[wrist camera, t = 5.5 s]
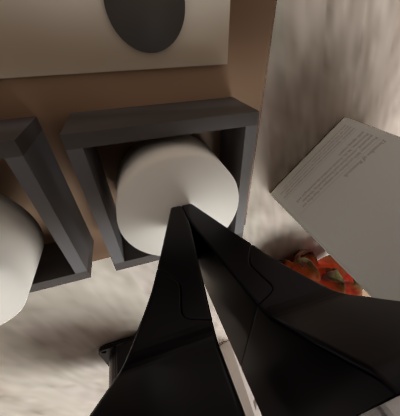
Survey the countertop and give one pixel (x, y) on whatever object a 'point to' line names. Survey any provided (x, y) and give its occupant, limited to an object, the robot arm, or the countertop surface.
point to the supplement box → (352, 203)
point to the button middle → (17, 256)
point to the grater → (239, 381)
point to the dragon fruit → (324, 272)
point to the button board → (120, 108)
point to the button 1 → (170, 188)
